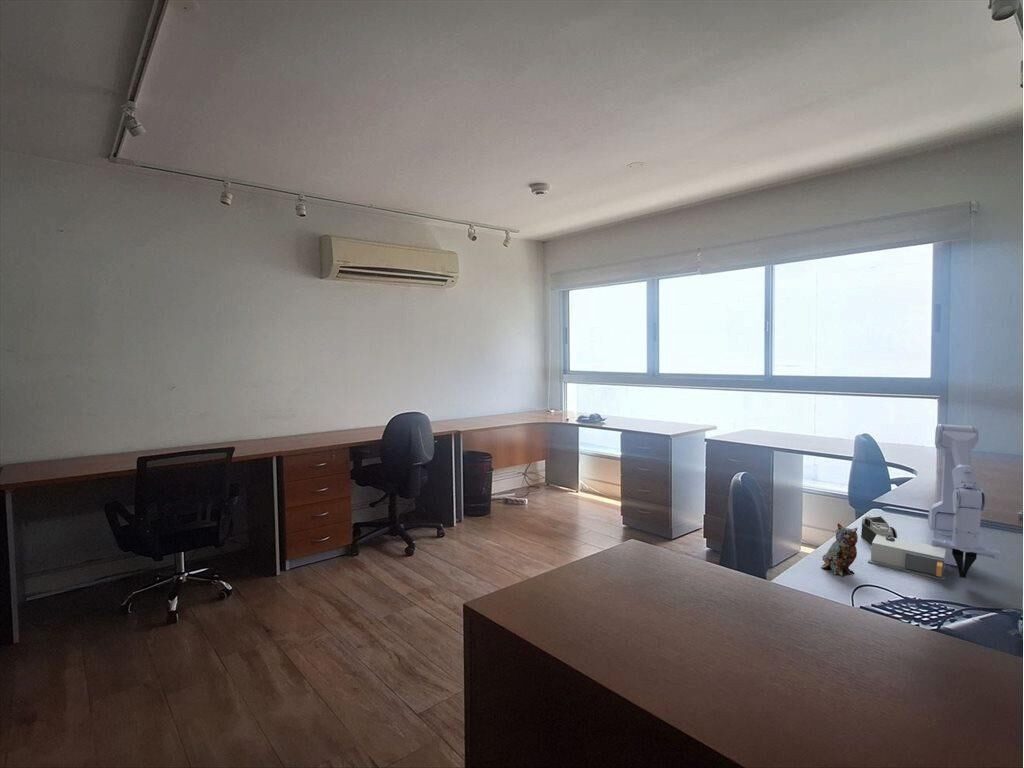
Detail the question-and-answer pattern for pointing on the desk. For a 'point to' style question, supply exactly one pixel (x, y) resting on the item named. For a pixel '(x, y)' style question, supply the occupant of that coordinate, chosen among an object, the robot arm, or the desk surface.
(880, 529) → the camera
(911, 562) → the side door
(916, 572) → the camera case
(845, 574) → the figurine
